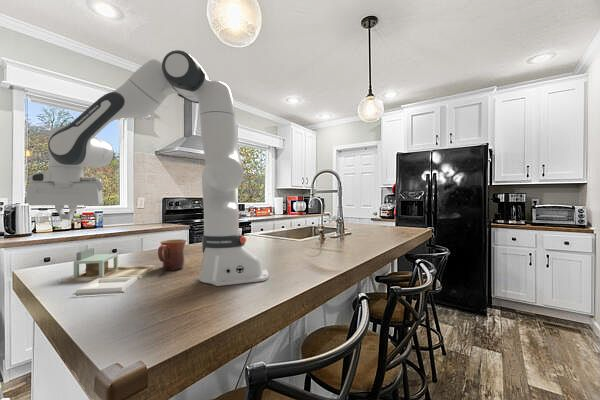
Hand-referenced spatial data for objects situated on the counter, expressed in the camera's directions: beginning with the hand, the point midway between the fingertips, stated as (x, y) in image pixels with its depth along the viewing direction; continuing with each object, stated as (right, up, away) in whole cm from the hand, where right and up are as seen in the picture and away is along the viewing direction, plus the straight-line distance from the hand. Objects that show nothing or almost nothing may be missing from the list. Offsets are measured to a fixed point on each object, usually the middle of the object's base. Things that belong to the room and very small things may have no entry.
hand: (66, 219), depth 90 cm
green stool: (+9, -18, +2) cm, 20 cm away
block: (+9, -18, +2) cm, 20 cm away
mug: (+29, -19, +11) cm, 36 cm away
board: (+13, -19, +3) cm, 23 cm away
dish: (+21, -19, -10) cm, 30 cm away
